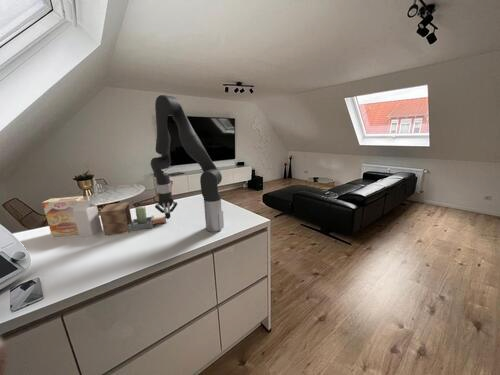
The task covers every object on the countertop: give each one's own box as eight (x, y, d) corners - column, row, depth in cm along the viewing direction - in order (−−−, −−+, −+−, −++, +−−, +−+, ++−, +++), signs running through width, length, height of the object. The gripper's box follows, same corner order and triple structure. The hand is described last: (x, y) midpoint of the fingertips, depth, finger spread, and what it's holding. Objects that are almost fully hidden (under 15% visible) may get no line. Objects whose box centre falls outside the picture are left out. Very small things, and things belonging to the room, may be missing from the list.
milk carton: (92, 237, 104) (84, 203, 99) (79, 237, 105) (70, 203, 100) (102, 230, 111) (95, 198, 106) (90, 230, 111) (82, 198, 106)
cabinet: (132, 223, 120) (128, 202, 116) (128, 232, 109) (124, 209, 105) (111, 226, 116) (106, 204, 113) (104, 236, 105) (99, 212, 102)
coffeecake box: (51, 237, 105) (40, 202, 100) (60, 231, 112) (50, 198, 106) (85, 233, 109) (76, 199, 104) (91, 227, 115) (83, 195, 110)
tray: (166, 218, 126) (165, 213, 125) (165, 225, 116) (165, 221, 115) (134, 222, 120) (133, 218, 119) (130, 231, 109) (129, 226, 109)
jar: (149, 222, 118) (147, 206, 115) (142, 226, 113) (140, 209, 111) (142, 221, 119) (140, 205, 117) (135, 224, 115) (133, 208, 112)
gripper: (151, 194, 111) (155, 222, 116) (176, 191, 115) (179, 219, 120) (152, 190, 118) (156, 217, 122) (176, 188, 122) (179, 214, 127)
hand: (168, 218), depth 121 cm, fingers closed
